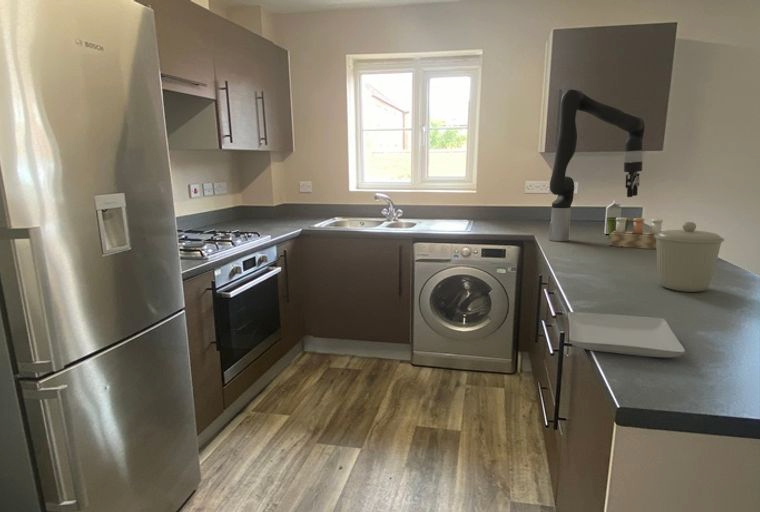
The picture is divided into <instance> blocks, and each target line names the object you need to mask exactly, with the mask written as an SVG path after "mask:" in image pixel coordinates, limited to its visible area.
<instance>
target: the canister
mask: <svg viewBox="0 0 760 512" xmlns="http://www.w3.org/2000/svg"><path fill="white" fill-rule="evenodd" d="M681 226H682V229H668V230H667V229H666V230H661V232H659V233H658V234H655V235H654V237H655V238H656V248H657V249H656V269H657V280H658V284H660V285H661V287H663V288H666V289H668V290H672V291H675V292H676V291H677V292H684V293H686V292H687V293H699V292H703V291H706V290H707V289H708V288H709V286H710V285H711V282H712V280H713V279H712V278H713V276H714V272H715V268H716V265H717V260H718V256H719V254H720V249H721V245H722V243H723V242H724V241H725V238H724V237H722V236H720V235H719V234H717V233H714V232H710V231H704V230H696V228H697V224H696V223H695V222H693V221H692V222H691V221H686V222H684V223H683V224H682V225H681Z"/></svg>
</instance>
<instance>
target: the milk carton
mask: <svg viewBox="0 0 760 512" xmlns="http://www.w3.org/2000/svg"><path fill="white" fill-rule="evenodd" d="M620 206H621V204H620V203H619V202H617V203H616V201H615V200H613V202H612V203H610V204H609V205H608V206H606V208H605V219H604V220H605V221H604V233H605V234H609V233H608V223H607V219H606V218H607V217H622V208H621V207H620ZM605 234H604V235H605Z"/></svg>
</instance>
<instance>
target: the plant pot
mask: <svg viewBox="0 0 760 512" xmlns="http://www.w3.org/2000/svg"><path fill="white" fill-rule="evenodd" d="M605 218H606V217H605ZM616 218H625V217H624V216H623V217H622V216H621V217H607V218H606V219H607V223H608V233H609V235H608V239H609V238H610V234H611V233H612V232H613V231H616ZM626 218H627V220H626V223H625V232H628V231H627V230H628V227H629V224H630V222H631V220H632V218H630V217H626Z"/></svg>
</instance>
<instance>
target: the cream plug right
mask: <svg viewBox="0 0 760 512" xmlns="http://www.w3.org/2000/svg"><path fill="white" fill-rule="evenodd" d="M663 220H664V219H660V218H651V220H650V222H651V228H650V233H651V235H655V234H658V233H659V232H661V231H662V225H663V224H662V223H663Z"/></svg>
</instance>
